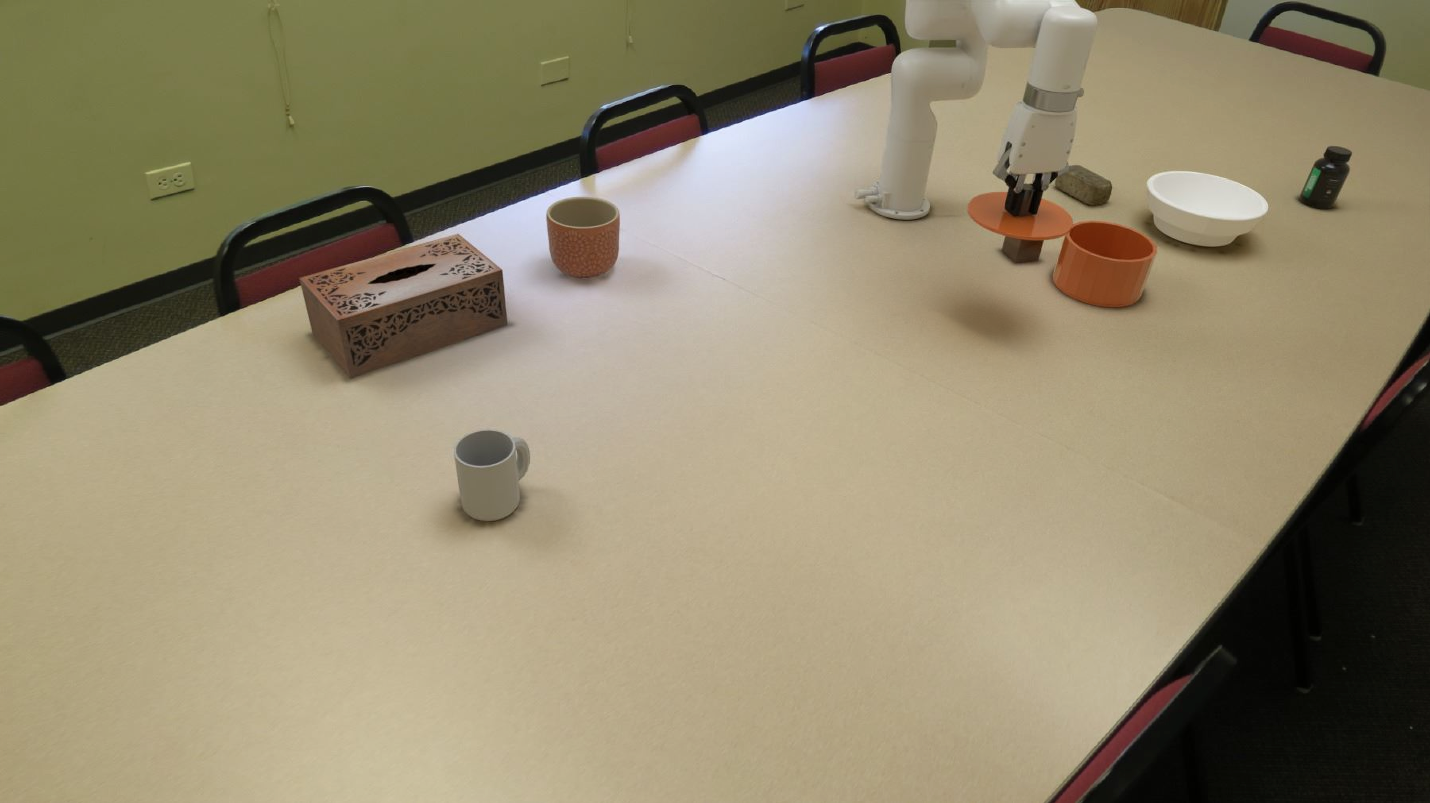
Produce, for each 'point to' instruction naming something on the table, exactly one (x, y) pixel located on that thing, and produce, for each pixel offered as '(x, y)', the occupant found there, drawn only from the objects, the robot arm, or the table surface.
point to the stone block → (1084, 185)
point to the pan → (1104, 263)
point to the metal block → (1022, 249)
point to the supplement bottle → (1326, 178)
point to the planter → (583, 235)
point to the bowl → (1203, 207)
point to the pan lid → (1020, 216)
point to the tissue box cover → (404, 303)
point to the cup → (490, 472)
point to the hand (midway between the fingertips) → (1020, 211)
